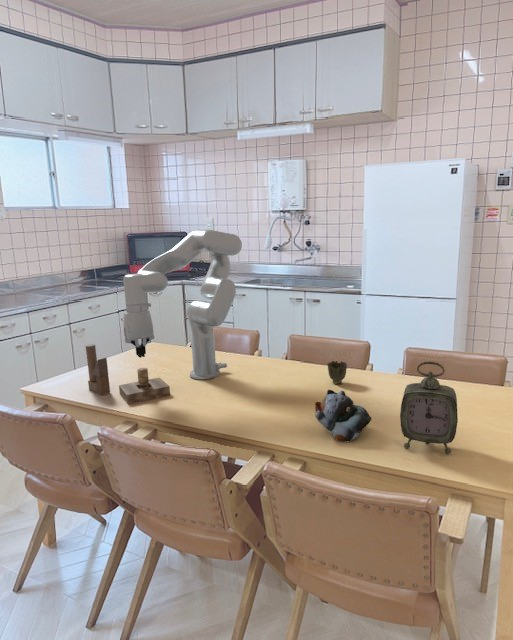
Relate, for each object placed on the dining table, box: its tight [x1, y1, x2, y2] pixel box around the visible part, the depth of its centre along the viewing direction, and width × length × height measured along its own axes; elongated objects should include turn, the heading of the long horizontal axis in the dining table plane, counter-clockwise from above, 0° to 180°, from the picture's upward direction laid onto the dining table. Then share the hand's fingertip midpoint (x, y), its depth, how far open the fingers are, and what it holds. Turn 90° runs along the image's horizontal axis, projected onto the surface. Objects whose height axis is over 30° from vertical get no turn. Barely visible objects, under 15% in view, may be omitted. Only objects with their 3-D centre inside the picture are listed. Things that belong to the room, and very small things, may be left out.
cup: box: [327, 360, 348, 385], centre depth 188 cm, size 8×7×8 cm
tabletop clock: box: [399, 361, 459, 455], centre depth 134 cm, size 14×9×25 cm, turn 69°
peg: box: [137, 367, 149, 389], centre depth 184 cm, size 4×4×10 cm
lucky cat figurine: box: [314, 389, 373, 443], centre depth 147 cm, size 15×12×14 cm
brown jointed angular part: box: [85, 343, 111, 396], centre depth 189 cm, size 4×11×18 cm, turn 45°
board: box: [118, 376, 171, 405], centre depth 185 cm, size 16×12×4 cm
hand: (141, 356), depth 182 cm, fingers closed
